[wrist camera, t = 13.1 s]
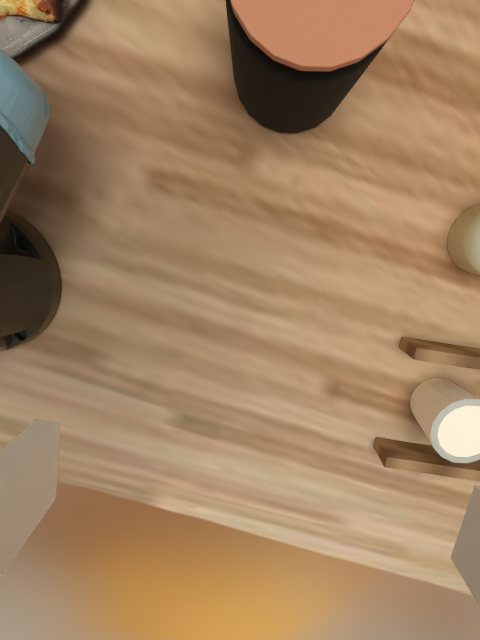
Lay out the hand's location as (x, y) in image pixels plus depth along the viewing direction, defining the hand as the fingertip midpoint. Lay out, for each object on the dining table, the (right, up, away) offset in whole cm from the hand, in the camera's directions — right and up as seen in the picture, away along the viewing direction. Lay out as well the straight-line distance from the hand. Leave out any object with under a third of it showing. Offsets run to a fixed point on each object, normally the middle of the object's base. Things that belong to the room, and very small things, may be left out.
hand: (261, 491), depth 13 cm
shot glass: (+21, -4, +33) cm, 40 cm away
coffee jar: (+4, +29, +26) cm, 39 cm away
